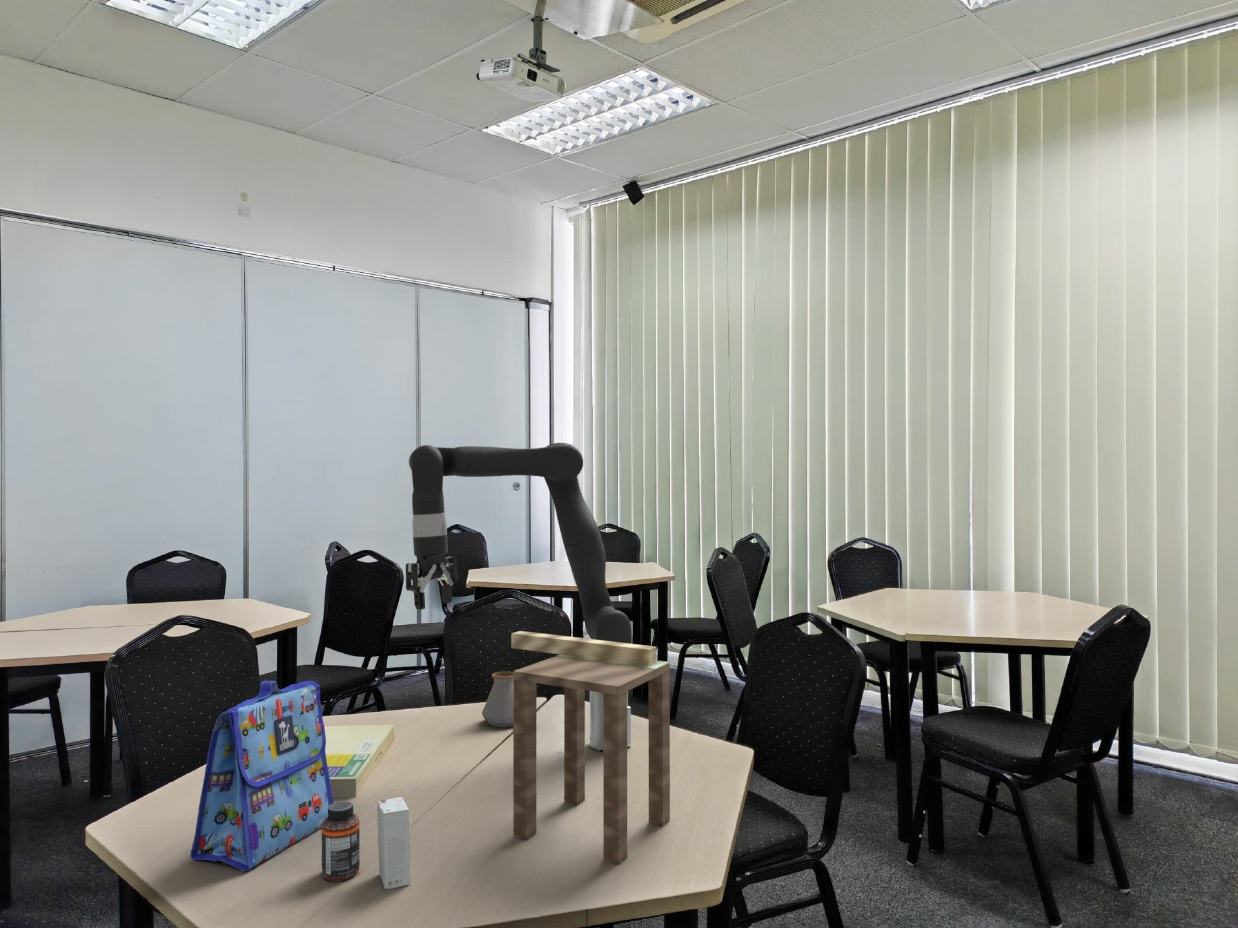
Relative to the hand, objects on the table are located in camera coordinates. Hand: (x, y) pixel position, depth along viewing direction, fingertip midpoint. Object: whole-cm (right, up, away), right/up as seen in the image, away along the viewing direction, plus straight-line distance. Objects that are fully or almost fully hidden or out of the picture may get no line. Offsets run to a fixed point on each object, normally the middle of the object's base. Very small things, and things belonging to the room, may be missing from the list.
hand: (434, 605), depth 181 cm
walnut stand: (+37, -36, -31) cm, 60 cm away
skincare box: (+5, -36, -50) cm, 62 cm away
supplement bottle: (-4, -36, -48) cm, 60 cm away
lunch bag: (-22, -36, -36) cm, 55 cm away
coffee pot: (+16, -37, +33) cm, 52 cm away
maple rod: (+34, -6, -21) cm, 41 cm away
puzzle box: (-25, -37, 0) cm, 45 cm away
